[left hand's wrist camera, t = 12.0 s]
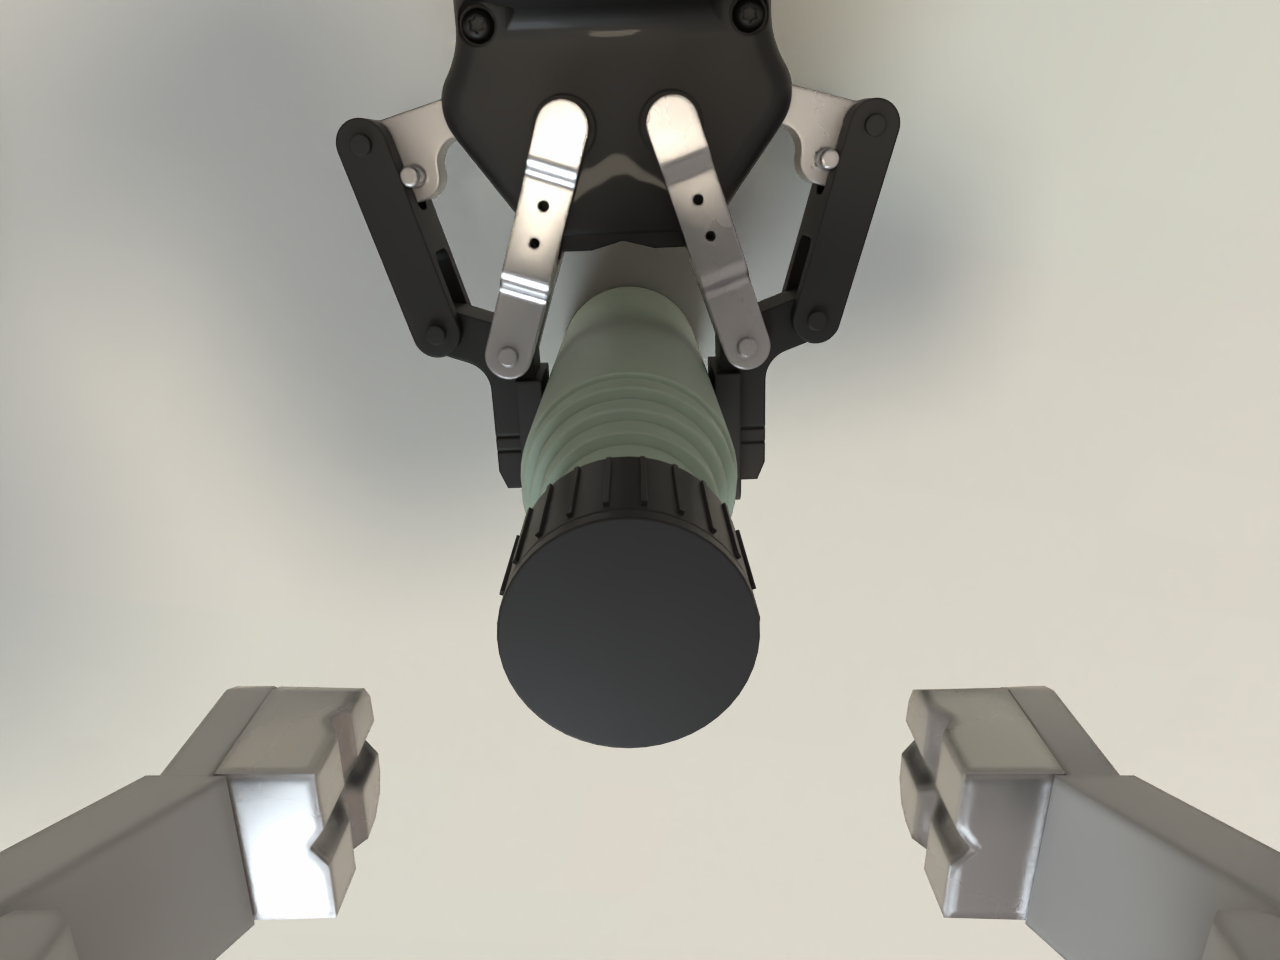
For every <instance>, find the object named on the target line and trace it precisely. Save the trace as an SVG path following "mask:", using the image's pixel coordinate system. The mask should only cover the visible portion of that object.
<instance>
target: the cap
mask: <svg viewBox="0 0 1280 960" xmlns="http://www.w3.org/2000/svg"><path fill="white" fill-rule="evenodd" d="M752 589H756V586H755V583H754V579H753V576H752V572H751V569H750V566H749V562H748V559H747V555H746V552H745V549H744V545H743V542H742V538H741V535H740V531H739V530H736V531H735V528H734V525H733V522H732V520H731V517H730V514H729V510H728V506H727V505H726V503H725V502H724V503H723V504H722V502H721V501H720V500H719V498H718V497H717V496H716V495H715V494H714V493H713V492H712V490H711V489H710V488H709V487H708V486H707V484H706V482H705V481H704V480H701V481H700V480H699V479H698V478H696V477H695V476H693V475H692V474H690V473H689V472H687V471H685V470H683V469H681V468H679V467H678V465H676V464H673V465H672V464H669V463H666V462H663V461H660V460H656V459H650V458H645V456H640V457H631V456H626V457H612V458H611V457H606V459H602V460H598V461H595V462H591V463H588V464H585V465H583V466H581V467H579V466H577V467H575V468H574V470H572V471H571V472H569V473H567V474H566V475H564V476H563V477H561V478H560V479H558V480H557V481H556V482H555V483H554V484H551V483H550V484H549V485H548V486H547V488H546V491H545V492H544V493H543V494H542V495H541V497H540V498H539V499H538V500H537V502H536V503H535V505H534V506H533V508H530V507H529V508H528V510H527V513H526V516H525V520H524V523H523V527H522V530H521V533H520V536H519V535H517V537H516V540H515V543H514V547H513V550H512V553H511V557H510V560H509V563H508V567H507V570H506V573H505V577H504V580H503V583H502V587H501V590H500V595H503V599H502V602H501V605H500V609H499V615H498V621H497V642H498V649H499V655H500V658H501V662H502V665H503V668H504V670H505V673H506V675H507V677H508V679H509V682H510V683H511V685H512V686H513V688H514V690H515V691H516V693H517V694H518V696H519V697H520V698H521V699H522V700H523V702H524V703H525V704H526V705H527V706H528V708H530V709H531V710H532V711H533V712H534V713H535V714H536V715H537V716H538V717H539V718H541V719H542V720H543V721H545V722H546V723H548V724H549V725H550V726H552V727H554V728H555V729H557V730H559V731H561V732H563V733H565V734H566V735H569V736H571V737H574V738H576V739H579V740H581V741H585V742H589V743H592V744H596V745H601V746H608V747H616V748H640V747H649V746H655V745H661V744H664V743H668V742H671V741H675V740H678V739H680V738H683V737H685V736H687V735H690V734H692V733H694V732H696V731H697V730H699V729H701V728H703V727H705V726H706V725H708V724H709V723H710V722H712V721H713V720H714V719H716V718H717V717H718V716H719V715H721V714H722V713H723V712H724V711H725V710H726V709H727V708H728V707H729V706H730V705H731V704H732V702H733V701H734V700H735V699H736V698H737V696H738V695H739V694H740V692H741V691H742V689H743V687H744V686H745V684H746V683H747V681H748V679H749V676H750V674H751V672H752V670H753V667H754V664H755V661H756V657H757V654H758V648H759V640H760V615H759V612H758V608H757V605H756V601H755V598H754V594H753V591H752Z"/></svg>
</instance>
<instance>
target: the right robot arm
mask: <svg viewBox="0 0 1280 960" xmlns="http://www.w3.org/2000/svg"><path fill="white" fill-rule="evenodd" d="M453 1H454V12H455V22H456V46H455V53H454V58H453V61H452V65H451V68H450V70H449V73H448V75H447V77H446V80H445V82H444V86H443V90H442V99H441V100H438V101H435V102H432V103H429V104H426V105H424V106H421V107H418V108H415V109H412V110H409V111H406V112H404V113H401V114H398V115H395V116H392V117H389V118H386V119H383V120H380V121H378V120H371V119H364V118H354V119H351V120H348V121H347V122H345V123H344V124H343V125H342V126H341V127H340V129H339V131H338V133H337V137H336V147H337V151H338V154H339V156H340V159H341V161H342V164H343V166H344V169H345V171H346V174H347V176H348V179H349V181H350V183H351V186H352V188H353V191H354V193H355V196H356V198H357V201H358V203H359V206H360V208H361V211H362V213H363V216H364V218H365V221H366V223H367V225H368V228H369V230H370V233H371V235H372V238H373V240H374V243H375V245H376V248H377V250H378V253H379V255H380V258H381V260H382V262H383V265H384V267H385V270H386V272H387V275H388V277H389V280H390V282H391V285H392V287H393V290H394V292H395V295H396V297H397V300H398V302H399V304H400V307H401V309H402V312H403V314H404V317H405V319H406V322H407V324H408V327H409V329H410V332H411V334H412V337H413V339H414V341H415V343H416V345H417V347H418V348H419V349H420V350H421V351H422V352H423V353H425V354H426V355H428V356H431V357H445V356H448V357H452V358H455V359H458V360H461V361H465V362H468V363H471V364H473V365H475V366H477V367H478V368H480V369H481V370H482V371H483V372H484V373H485V375H486V376H487V378H488V380H489V382H490V385H491V390H492V400H493V410H494V421H495V431H496V441H497V450H498V461H499V471H500V473H501V475H502V477H503V479H504V481H505V483H506V485H507V487H508V488H522V484H521V462H522V455H523V450H524V447H525V444H526V440H527V437H528V435H529V432H530V429H531V426H532V424H533V421H534V418H535V416H536V413H537V410H538V407H539V405H540V402H541V399H542V396H543V394H544V391H545V388H546V385H547V383H548V380H549V368H548V363H540V353H539V345H540V342H541V338H542V334H543V330H544V326H545V322H546V318H547V314H548V310H549V306H550V303H551V299H552V295H553V291H554V287H555V284H556V281H557V278H558V274H559V270H560V267H561V263H562V259H563V255H564V252H565V251H589V250H595V249H598V248H601V247H604V246H607V245H610V244H613V243H616V242H620V241H628V242H632V243H636V244H640V245H645V246H649V247H653V248H662V247H685V250H686V252H687V255H688V258H689V261H690V264H691V267H692V269H693V272H694V275H695V277H696V280H697V283H698V285H699V288H700V291H701V294H702V297H703V300H704V302H705V305H706V308H707V311H708V314H709V317H710V319H711V322H712V325H713V328H714V331H715V356H716V357H708V376H709V379H710V381H711V384H712V387H713V390H714V393H715V395H716V398H717V401H718V404H719V406H720V409H721V412H722V415H723V418H724V420H725V423H726V426H727V429H728V432H729V434H730V437H731V440H732V444H733V447H734V450H735V455H736V461H737V485H736V496H735V500H739V499H740V497H741V479H757V478H758V476H759V473H760V471H761V469H762V466H763V464H764V462H765V441H764V440H765V377H766V371H767V369H768V366H769V364H770V363H771V361H772V360H773V359H774V358H775V357H776V356H777V355H779V354H780V353H782V352H784V351H786V350H788V349H791V348H793V347H796V346H798V345H801V344H803V343H806V342H809V343H822V342H824V341H827V340H828V339H830V338H831V337H832V336H833V335H834V334H835V333H836V331H837V330H838V327H839V325H840V321H841V318H842V315H843V312H844V308H845V305H846V302H847V298H848V295H849V292H850V289H851V285H852V282H853V279H854V276H855V272H856V269H857V266H858V263H859V259H860V256H861V253H862V250H863V246H864V243H865V240H866V237H867V233H868V230H869V227H870V224H871V220H872V217H873V214H874V211H875V207H876V204H877V201H878V198H879V194H880V191H881V188H882V184H883V181H884V178H885V175H886V171H887V168H888V165H889V162H890V158H891V155H892V152H893V149H894V145H895V142H896V139H897V136H898V132H899V128H900V117H899V113H898V111H897V109H896V107H895V106H894V105H893V104H892V103H891V102H889V101H888V100H886V99H883V98H867V99H862V100H858V101H854V100H850V99H846V98H842V97H838V96H834V95H830V94H827V93H823V92H819V91H815V90H811V89H807V88H803V87H799V86H795V85H792V83H791V77H790V74H789V71H788V68H787V66H786V64H785V63H784V61H783V59H782V57H781V55H780V53H779V50H778V48H777V45H776V42H775V39H774V34H773V30H772V22H771V0H453ZM780 126H781V127H783V128H784V129H786V130H787V131H788V132H789V133H790V135H791V136H792V138H793V141H794V144H795V155H794V165H795V169H796V172H797V173H798V175H799V176H800V177H801V178H802V179H803V180H805V181H806V182H809V183H812V187H811V190H810V194H809V197H808V201H807V205H806V208H805V212H804V215H803V219H802V222H801V226H800V229H799V233H798V237H797V240H796V244H795V247H794V251H793V254H792V258H791V261H790V265H789V269H788V272H787V276H786V279H785V283H784V286H783V290H782V293H779V294H777V295H774V296H772V297H770V298H767V299H765V300H762V301H760V302H757V300H756V297H755V294H754V291H753V288H752V285H751V281H750V278H749V273H748V268H747V265H746V261H745V258H744V255H743V252H742V249H741V246H740V243H739V240H738V237H737V234H736V231H735V228H734V225H733V222H732V219H731V216H730V213H729V210H728V207H727V205H728V203H729V202H730V200H731V199H732V198H733V196H734V195H735V193H736V192H737V190H738V189H739V187H740V186H741V184H742V183H743V181H744V180H745V178H746V177H747V175H748V174H749V172H750V171H751V169H752V168H753V166H754V165H755V163H756V162H757V160H758V159H759V157H760V156H761V154H762V153H763V151H764V150H765V148H766V147H767V145H768V144H769V142H770V141H771V139H772V138H773V136H774V135H775V133H776V132H777V130H778V129H779V127H780ZM456 140H457V141H458V142H459V143H460V144H461V146H462V147H463V148H464V149H465V151H466V152H467V153H468V154H469V156H470V157H471V158H472V159H473V161H474V162H475V163H476V164H477V166H478V167H479V168H480V169H481V171H482V172H483V173H484V174H485V176H486V177H487V178H488V179H489V181H490V182H491V183H492V184H493V186H494V187H495V188H496V189H497V191H498V192H499V193H500V194H501V196H502V197H503V198H504V199H505V201H506V202H507V203H508V204H509V206H510V207H511V208H512V209H513V211H514V212H515V213H516V214H515V218H514V223H513V227H512V231H511V235H510V240H509V244H508V248H507V252H506V256H505V261H504V265H503V269H502V274H501V280H500V291H499V295H498V299H497V304H496V308H495V312H490V311H487V310H484V309H481V308H478V307H475V306H471V303H470V301H469V298H468V295H467V293H466V290H465V287H464V285H463V282H462V279H461V277H460V274H459V271H458V269H457V266H456V264H455V261H454V258H453V256H452V253H451V250H450V248H449V245H448V242H447V240H446V237H445V234H444V232H443V229H442V226H441V224H440V221H439V219H438V216H437V213H436V211H435V208H434V205H433V203H432V200H431V199H433V198H435V197H437V196H438V195H440V194H441V193H442V191H443V190H444V188H445V186H446V182H447V172H446V168H445V156H446V152H447V150H448V148H449V147H450V145H451V144H452V143H453V142H455V141H456Z"/></svg>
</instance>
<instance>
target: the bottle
mask: <svg viewBox="0 0 1280 960" xmlns="http://www.w3.org/2000/svg"><path fill="white" fill-rule="evenodd" d="M626 456H631V457H640V456H645V458H650V459H656V460H660V461H663V462H666V463H669V464H672V465H673V464H676V465H678V467H679V468H681V469H683V470H685V471H687V472H689V473H690V474H692V475H693V476H695V477H696V478H698V479H699V480H700V481H701V480H704V481H705V482H706V484H707V486H708V487H709V488H710V489H711V490H712V492H713V493H714V494H715V495H716V496H717V497H718V498H719V500H720V501H721V502H722V504H723V503H724V502H725V503H726V505H727V506H728V510H729V514H730V517H731V516H732V512H733V508H734V504H735V496H736V485H737V461H736V455H735V450H734V447H733V444H732V440H731V437H730V434H729V432H728V429H727V426H726V423H725V420H724V418H723V415H722V412H721V409H720V406H719V404H718V401H717V398H716V395H715V393H714V390H713V387H712V384H711V381H710V379H709V376H708V373H707V370H706V367H705V365H704V362H703V359H702V356H701V353H700V351H699V348H698V345H697V342H696V339H695V337H694V334H693V331H692V328H691V326H690V324H689V322H688V320H687V318H686V317H685V315H684V314H683V313H682V311H681V310H680V309H679V308H678V307H677V306H676V305H675V304H674V303H673V302H672V301H671V300H669V299H668V298H666V297H665V296H663V295H661V294H659V293H657V292H655V291H652V290H649V289H646V288H641V287H631V286H628V287H618V288H613V289H610V290H607V291H604V292H602V293H600V294H598V295H596V296H594V297H593V298H591V299H590V300H588V301H587V302H586V303H585V304H584V305H583V306H582V307H581V308H580V309H579V310H578V311H577V312H576V314H575V315H574V317H573V318H572V320H571V322H570V324H569V326H568V328H567V331H566V334H565V336H564V339H563V342H562V345H561V347H560V350H559V353H558V355H557V358H556V361H555V364H554V366H553V369H552V372H551V375H550V377H549V380H548V383H547V385H546V388H545V391H544V394H543V396H542V399H541V402H540V405H539V407H538V410H537V413H536V416H535V418H534V421H533V424H532V426H531V429H530V432H529V435H528V437H527V440H526V444H525V447H524V450H523V455H522V462H521V484H522V496H523V504H524V508H525V512H526V513H527V510H528V508H529V507H530V508H533V506H534V505H535V503H536V502H537V500H538V499H539V498H540V497H541V495H542V494H543V493H544V492H545V491H546V488H547V486H548V485H549V484H550V483H551V484H554V483H555V482H556V481H557V480H558V479H560V478H561V477H563V476H564V475H566V474H567V473H569V472H571V471H572V470H574V468H575V467H577V466H579V467H581V466H583V465H585V464H588V463H591V462H595V461H598V460H602V459H606V457H611V458H612V457H626Z"/></svg>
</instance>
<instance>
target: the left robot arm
mask: <svg viewBox="0 0 1280 960" xmlns="http://www.w3.org/2000/svg"><path fill="white" fill-rule="evenodd" d="M373 722H374V717H373V711H372V705H371V698H370V695H369V694H368V693H367V691H366V690H365V689H364V688H322V687H278V688H277V687H275V686H247V687H234V688H231V689H228V690H226V691H225V692H224V694H223V695H222V696H221V698H220V699H219V700H218V701H217V703H216V704H215V705H214V707H213V708H212V709H211V710H210V712H209V713H208V714H207V716H206V717H205V718H204V719H203V721H202V722H201V723H200V725H199V726H198V727H197V728H196V730H195V731H194V732H193V734H192V735H191V736H190V737H189V739H188V740H187V741H186V743H185V744H184V745H183V746H182V748H181V749H180V750H179V752H178V753H177V754H176V755H175V757H174V758H173V759H172V761H171V762H170V763H169V764H168V766H167V767H166V768H165V770H164V771H163V772H162V773H161V775H160V776H144V777H142V778H140V779H138V780H137V781H135V782H133V783H131V784H129V785H127V786H125V787H123V788H121V789H119V790H118V791H116V792H114V793H112V794H110V795H108V796H106V797H104V798H102V799H100V800H98V801H97V802H95V803H93V804H91V805H89V806H87V807H85V808H83V809H81V810H79V811H78V812H76V813H74V814H72V815H70V816H68V817H66V818H64V819H62V820H60V821H59V822H57V823H55V824H53V825H51V826H49V827H47V828H45V829H43V830H41V831H40V832H38V833H36V834H34V835H32V836H30V837H28V838H26V839H24V840H22V841H20V842H19V843H17V844H15V845H13V846H11V847H9V848H7V849H5V850H3V851H1V852H0V960H215V959H216V958H218V957H219V956H220V955H221V954H222V953H223V952H224V951H225V950H226V949H228V948H229V947H230V946H231V945H232V944H233V943H234V942H235V941H236V940H238V939H239V938H240V937H241V936H242V935H243V934H244V933H245V932H246V931H248V930H249V929H250V928H251V927H252V926H253V925H254V920H264V919H299V918H333V917H337V914H338V912H339V909H340V907H341V904H342V902H343V899H344V897H345V894H346V892H347V889H348V887H349V885H350V882H351V880H352V877H353V875H354V872H355V870H356V866H355V858H354V851H353V849H354V848H356V847H357V846H358V845H360V844H361V843H362V842H364V841H365V840H366V839H368V837H369V834H370V831H371V829H372V826H373V823H374V821H375V817H376V812H377V806H378V800H379V795H380V766H379V757H378V753H377V752H376V751H375V750H374V749H373V748H372V747H371V745H370V744H369V743H368V742H367V741H366V737H367V735H368V733H369V731H370V729H371V726H372V724H373ZM906 722H907V724H908V726H909V729H910V731H911V733H912V735H913V737H914V741H913V742H912V743H911V744H910V745H909V747H908V748H907V749H906V750H905V751H904V752H903V753H902V758H901V769H900V791H901V804H902V808H903V812H904V816H905V821H906V824H907V826H908V829H909V831H910V834H911V837H912V839H914V840H915V841H916V842H918V843H919V844H920V845H922V846H923V847H924V848H926V849H927V851H926V858H925V866H924V870H925V872H926V875H927V877H928V880H929V882H930V884H931V887H932V889H933V892H934V894H935V897H936V899H937V902H938V904H939V907H940V909H941V911H942V914H943V916H944V918H980V919H1015V920H1026V922H1025V924H1026V925H1027V926H1028V927H1030V928H1031V929H1032V930H1033V931H1034V932H1035V933H1036V934H1037V935H1038V936H1040V937H1041V938H1042V939H1043V940H1044V941H1045V942H1046V943H1047V944H1048V945H1050V946H1051V947H1052V948H1053V949H1054V950H1055V951H1056V952H1057V953H1058V954H1060V955H1061V956H1062V957H1063V958H1064V959H1065V960H1280V852H1278V851H1276V850H1274V849H1272V848H1271V847H1269V846H1267V845H1265V844H1263V843H1261V842H1259V841H1257V840H1255V839H1253V838H1252V837H1250V836H1248V835H1246V834H1244V833H1242V832H1240V831H1238V830H1236V829H1234V828H1233V827H1231V826H1229V825H1227V824H1225V823H1223V822H1221V821H1219V820H1217V819H1216V818H1214V817H1212V816H1210V815H1208V814H1206V813H1204V812H1202V811H1200V810H1198V809H1197V808H1195V807H1193V806H1191V805H1189V804H1187V803H1185V802H1183V801H1181V800H1179V799H1178V798H1176V797H1174V796H1172V795H1170V794H1168V793H1166V792H1164V791H1162V790H1161V789H1159V788H1157V787H1155V786H1153V785H1151V784H1149V783H1147V782H1145V781H1143V780H1142V779H1140V778H1138V777H1136V776H1120V775H1119V773H1118V772H1117V771H1116V770H1115V768H1114V767H1113V766H1112V765H1111V763H1110V762H1109V761H1108V759H1107V758H1106V757H1105V756H1104V754H1103V753H1102V752H1101V750H1100V749H1099V748H1098V747H1097V745H1096V744H1095V743H1094V742H1093V740H1092V739H1091V738H1090V736H1089V735H1088V734H1087V733H1086V731H1085V730H1084V729H1083V727H1082V726H1081V725H1080V724H1079V722H1078V721H1077V720H1076V718H1075V717H1074V716H1073V715H1072V713H1071V712H1070V711H1069V710H1068V708H1067V707H1066V706H1065V704H1064V703H1063V702H1062V701H1061V699H1060V698H1059V697H1058V695H1057V694H1056V693H1055V692H1054V691H1053V690H1052V689H1050V688H1048V687H1046V686H1024V687H1001V688H972V689H925V690H913V691H912V694H911V697H910V699H909V702H908V709H907V717H906Z"/></svg>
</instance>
